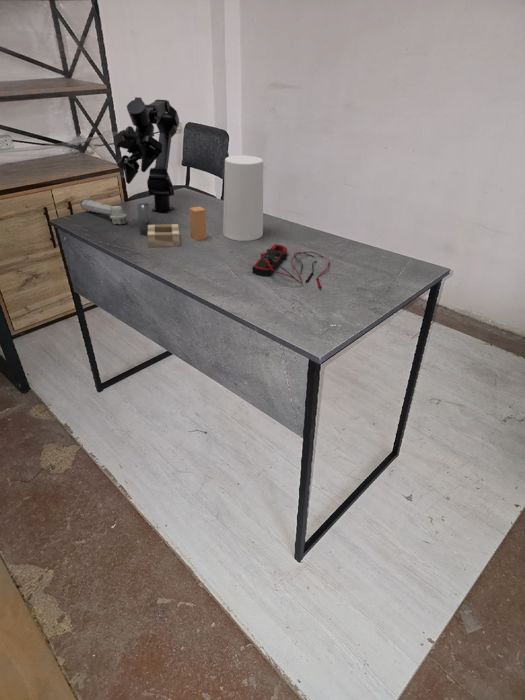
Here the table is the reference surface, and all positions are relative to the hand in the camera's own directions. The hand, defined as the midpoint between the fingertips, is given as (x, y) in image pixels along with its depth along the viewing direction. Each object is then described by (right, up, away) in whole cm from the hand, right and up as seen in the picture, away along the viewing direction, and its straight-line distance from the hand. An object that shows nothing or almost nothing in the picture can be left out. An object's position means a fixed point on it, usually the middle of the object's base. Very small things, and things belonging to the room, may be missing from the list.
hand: (135, 177), depth 149 cm
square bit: (+19, -17, +10) cm, 27 cm away
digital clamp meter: (+50, -31, -8) cm, 60 cm away
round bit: (+1, -15, +12) cm, 19 cm away
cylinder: (+34, -15, +15) cm, 40 cm away
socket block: (+8, -19, +6) cm, 22 cm away
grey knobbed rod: (-19, -6, +25) cm, 32 cm away
